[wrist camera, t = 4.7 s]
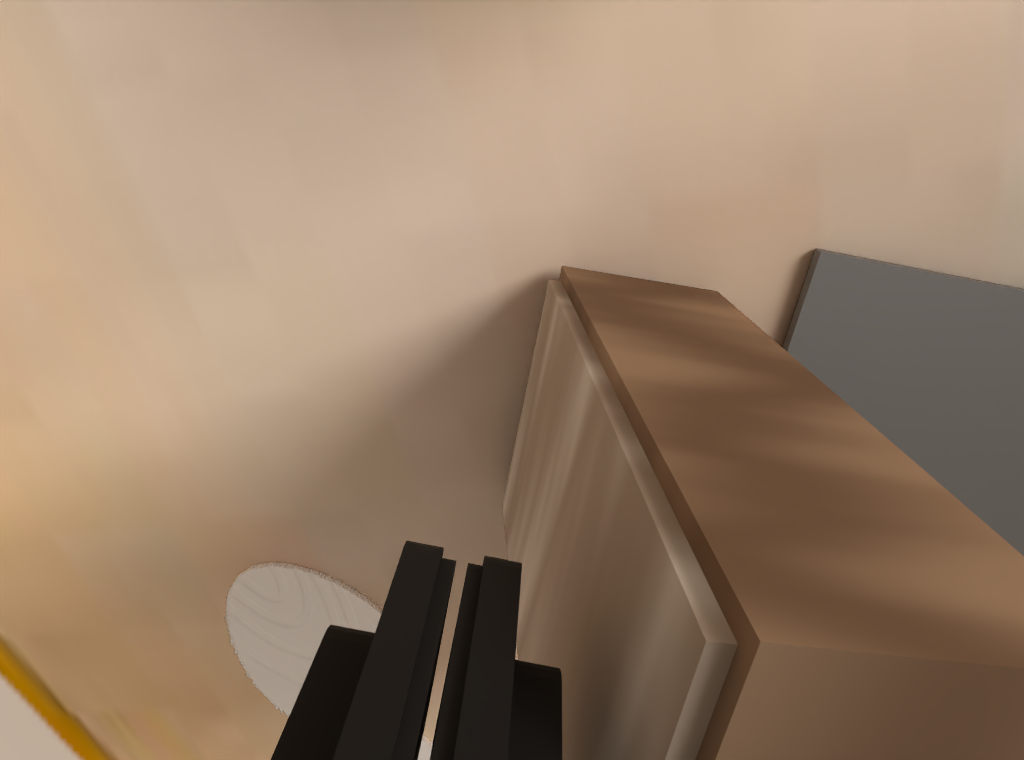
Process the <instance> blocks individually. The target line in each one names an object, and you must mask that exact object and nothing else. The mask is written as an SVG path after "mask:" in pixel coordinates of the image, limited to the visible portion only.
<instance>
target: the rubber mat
mask: <svg viewBox="0 0 1024 760" xmlns="http://www.w3.org/2000/svg"><path fill="white" fill-rule="evenodd" d="M782 348H783V349H785V350H786V351H787V352H788V353H789V354H790V355H791V356H793V357H794V358H795V359H796V360H797V361H798V362H800V363H801V364H802V365H803V366H804V367H805V368H806V369H808V370H809V371H810V372H811V373H812V374H813V375H815V376H816V377H817V378H818V379H819V380H820V381H822V382H823V383H824V384H825V385H826V386H827V387H828V388H830V389H831V390H832V391H833V392H834V393H835V394H837V395H838V396H839V397H840V398H841V399H842V400H844V401H845V402H846V403H847V404H848V405H849V406H850V407H852V408H853V409H854V410H855V411H856V412H857V413H859V414H860V415H861V416H862V417H863V418H864V419H866V420H867V421H868V422H869V423H870V424H871V425H872V426H874V427H875V428H876V429H877V430H878V431H879V432H881V433H882V434H883V435H884V436H885V437H886V438H887V439H889V440H890V441H891V442H892V443H893V444H894V445H896V446H897V447H898V448H899V449H900V450H901V451H903V452H904V453H905V454H906V455H907V456H908V457H909V458H911V459H912V460H913V461H914V462H915V463H916V464H918V465H919V466H920V467H921V468H922V469H923V470H925V471H926V472H927V473H928V474H929V475H930V476H931V477H933V478H934V479H935V480H936V481H937V482H938V483H940V484H941V485H942V486H943V487H944V488H945V489H947V490H948V491H949V492H950V493H951V494H952V495H953V496H955V497H956V498H957V499H958V500H959V501H960V502H962V503H963V504H964V505H965V506H966V507H967V508H968V509H970V510H971V511H972V512H973V513H974V514H975V515H977V516H978V517H979V518H980V519H981V520H982V521H984V522H985V523H986V524H987V525H988V526H989V527H990V528H992V529H993V530H994V531H995V532H996V533H997V534H999V535H1000V536H1001V537H1002V538H1003V539H1004V540H1006V541H1007V542H1008V543H1009V544H1010V545H1011V546H1012V547H1014V548H1015V549H1016V550H1017V551H1018V552H1019V553H1021V554H1022V555H1023V556H1024V289H1021V288H1015V287H1010V286H1005V285H1000V284H995V283H990V282H985V281H980V280H974V279H969V278H964V277H959V276H954V275H949V274H944V273H939V272H933V271H928V270H923V269H918V268H913V267H908V266H903V265H898V264H892V263H887V262H882V261H877V260H872V259H867V258H862V257H857V256H851V255H846V254H841V253H836V252H831V251H826V250H821V249H815V252H814V255H813V258H812V261H811V264H810V267H809V270H808V273H807V276H806V279H805V282H804V285H803V288H802V291H801V294H800V297H799V300H798V303H797V306H796V309H795V311H794V314H793V317H792V320H791V323H790V326H789V329H788V332H787V335H786V338H785V341H784V344H783V347H782Z"/></svg>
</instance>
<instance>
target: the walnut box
mask: <svg viewBox="0 0 1024 760" xmlns="http://www.w3.org/2000/svg"><path fill="white" fill-rule="evenodd" d="M502 508H503V517H504V527H505V537H506V546H507V556H508V560H509V561H515V562H520V563H522V574H521V587H520V600H519V613H518V626H517V639H516V642H517V652H518V660H520V661H525V662H530V663H535V664H541V665H546V666H551V667H556V668H560V670H561V674H562V760H1024V556H1023V555H1022V554H1021V553H1019V552H1018V551H1017V550H1016V549H1015V548H1014V547H1012V546H1011V545H1010V544H1009V543H1008V542H1007V541H1006V540H1004V539H1003V538H1002V537H1001V536H1000V535H999V534H997V533H996V532H995V531H994V530H993V529H992V528H990V527H989V526H988V525H987V524H986V523H985V522H984V521H982V520H981V519H980V518H979V517H978V516H977V515H975V514H974V513H973V512H972V511H971V510H970V509H968V508H967V507H966V506H965V505H964V504H963V503H962V502H960V501H959V500H958V499H957V498H956V497H955V496H953V495H952V494H951V493H950V492H949V491H948V490H947V489H945V488H944V487H943V486H942V485H941V484H940V483H938V482H937V481H936V480H935V479H934V478H933V477H931V476H930V475H929V474H928V473H927V472H926V471H925V470H923V469H922V468H921V467H920V466H919V465H918V464H916V463H915V462H914V461H913V460H912V459H911V458H909V457H908V456H907V455H906V454H905V453H904V452H903V451H901V450H900V449H899V448H898V447H897V446H896V445H894V444H893V443H892V442H891V441H890V440H889V439H887V438H886V437H885V436H884V435H883V434H882V433H881V432H879V431H878V430H877V429H876V428H875V427H874V426H872V425H871V424H870V423H869V422H868V421H867V420H866V419H864V418H863V417H862V416H861V415H860V414H859V413H857V412H856V411H855V410H854V409H853V408H852V407H850V406H849V405H848V404H847V403H846V402H845V401H844V400H842V399H841V398H840V397H839V396H838V395H837V394H835V393H834V392H833V391H832V390H831V389H830V388H828V387H827V386H826V385H825V384H824V383H823V382H822V381H820V380H819V379H818V378H817V377H816V376H815V375H813V374H812V373H811V372H810V371H809V370H808V369H806V368H805V367H804V366H803V365H802V364H801V363H800V362H798V361H797V360H796V359H795V358H794V357H793V356H791V355H790V354H789V353H788V352H787V351H786V350H785V349H783V348H782V347H781V346H780V345H779V344H778V343H776V342H775V341H774V340H773V339H772V338H771V337H769V336H768V335H767V334H766V333H765V332H764V331H763V330H761V329H760V328H759V327H758V326H757V325H756V324H754V323H753V322H752V321H751V320H750V319H749V318H747V317H746V316H745V315H744V314H743V313H742V312H741V311H739V310H738V309H737V308H736V307H735V306H734V305H732V304H731V303H730V302H729V301H728V300H727V299H725V298H724V297H723V296H722V295H721V294H720V293H719V292H717V291H711V290H705V289H699V288H693V287H687V286H681V285H675V284H669V283H663V282H656V281H650V280H644V279H638V278H632V277H626V276H620V275H614V274H608V273H602V272H596V271H590V270H584V269H578V268H572V267H566V266H562V268H561V273H560V278H559V281H558V280H552V279H549V281H548V286H547V291H546V296H545V301H544V305H543V310H542V315H541V320H540V325H539V330H538V335H537V339H536V344H535V349H534V354H533V359H532V364H531V369H530V373H529V378H528V383H527V388H526V393H525V398H524V402H523V407H522V412H521V417H520V422H519V427H518V432H517V436H516V441H515V446H514V451H513V456H512V461H511V466H510V470H509V475H508V480H507V485H506V490H505V495H504V500H503V504H502Z"/></svg>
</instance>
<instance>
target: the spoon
mask: <svg viewBox="0 0 1024 760" xmlns="http://www.w3.org/2000/svg"><path fill="white" fill-rule="evenodd" d="M228 592H229V593H228V596H227V598H228V599H227V598H226V599H227V601H226V614H227V615H226V617H225V618H226V621H225V622H227V623H228V624H227V626H228V628H227V629H229V630H228V632H229V635H230V636H231V639H230V641H231V644H232V645H233V644H234V648H235V649H236V650H235V653H234V654H238V656H237V657H238V659H240V663H242V664H241V666H242V665H243V667H244V669H245V670H246V674H248V676H247V677H250V678H251V679H252V680H253V682H252V684H255V688H256V689H259V690H260V691H261V692H262V693H263V695H265V696H266V698H267V699H269V701H270V702H271V703H272V704H274V705H275V708H276V710H278V708H279V709H280V711H281V713H282V711H284V713H285V714H286V716H288V715H289V716H290V714H291V711H292V709H293V706H294V704H295V702H296V699H297V697H298V695H299V692H300V690H301V688H302V685H303V683H304V681H305V678H306V676H307V674H308V671H309V669H310V667H311V664H312V662H313V660H314V657H315V655H316V653H317V650H318V648H319V646H320V643H321V641H322V639H323V636H324V634H325V632H326V630H327V628H328V627H329V626H330V625H336V626H341V627H346V628H352V629H357V630H362V631H367V632H373V633H375V632H376V629H377V626H378V623H379V620H380V617H381V614H382V611H383V610H381V609H380V608H379V607H378V606H377V604H376V605H375V604H374V603H373V602H371V601H370V600H369V599H368V598H366V597H365V596H364V595H363V594H361V593H358V592H357V590H354V589H352V588H351V587H350V586H349V587H348V585H345V584H344V583H343V584H342V582H341V581H337V580H336V579H335V578H331V577H330V576H326V575H325V574H323V573H321V572H320V573H319V572H318V571H317V572H316V571H314V570H313V569H308V568H307V567H306V568H305V567H304V568H303V567H300V566H299V565H297V566H296V565H295V564H294V565H293V564H291V563H290V564H289V563H288V564H286V563H281V562H280V563H279V564H278V563H277V562H275V563H274V562H273V563H271V562H270V563H264V564H263V563H261V564H260V565H259V564H257V565H256V566H255V565H253V566H252V567H250V568H248V569H247V570H245V571H244V572H242V573H240V574H239V576H237V578H236V579H235V581H234V583H233V585H232V586H231V587H230V589H229V591H228ZM225 618H224V619H225ZM232 645H231V646H232ZM234 648H233V649H234ZM246 674H245V675H246ZM432 745H433V743H432V742H430V741H429V740H428V739H427V738H426V737H425V736H424V734H423V737H422V741H421V746H420V751H419V756H418V760H430V755H431V750H432Z"/></svg>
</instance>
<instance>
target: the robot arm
mask: <svg viewBox="0 0 1024 760" xmlns="http://www.w3.org/2000/svg"><path fill="white" fill-rule="evenodd" d="M443 550H444V548H442V547H437V546H432V545H426V544H421V543H416V542H411V541H406V543H405V545H404V548H403V551H402V554H401V557H400V560H399V563H398V566H397V569H396V572H395V575H394V578H393V581H392V584H391V587H390V590H389V593H388V596H387V599H386V602H385V605H384V608H383V611H382V614H381V617H380V620H379V623H378V626H377V629H376V632H375V633H373V632H367V631H362V630H357V629H352V628H346V627H341V626H336V625H330V626H329V627H328V628H327V630H326V632H325V634H324V636H323V639H322V641H321V643H320V646H319V648H318V650H317V653H316V655H315V657H314V660H313V662H312V664H311V667H310V669H309V671H308V674H307V676H306V678H305V681H304V683H303V685H302V688H301V690H300V692H299V695H298V697H297V699H296V702H295V704H294V706H293V709H292V711H291V714H290V716H289V718H288V721H287V723H286V725H285V728H284V730H283V732H282V735H281V737H280V739H279V742H278V744H277V746H276V749H275V751H274V753H273V756H272V758H271V760H418V756H419V751H420V746H421V741H422V737H423V732H424V727H425V722H426V717H427V712H428V707H429V702H430V697H431V691H432V686H433V681H434V676H435V670H436V665H437V660H438V655H439V649H440V644H441V639H442V634H443V628H444V623H445V618H446V613H447V607H448V602H449V597H450V592H451V586H452V581H453V576H454V571H455V565H456V561H454V560H449V559H444V558H442V556H443ZM521 574H522V563H520V562H515V561H509V560H504V559H499V558H494V557H489V556H485V557H484V561H483V566H481V565H475V564H470V563H468V567H467V572H466V577H465V582H464V587H463V592H462V597H461V602H460V607H459V613H458V618H457V623H456V628H455V633H454V638H453V643H452V648H451V653H450V658H449V663H448V668H447V673H446V678H445V683H444V688H443V693H442V698H441V704H440V709H439V714H438V719H437V724H436V729H435V734H434V740H433V745H432V750H431V755H430V760H562V674H561V670H560V668H556V667H551V666H546V665H541V664H535V663H530V662H525V661H520V660H515V652H516V639H517V626H518V613H519V600H520V587H521Z"/></svg>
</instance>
